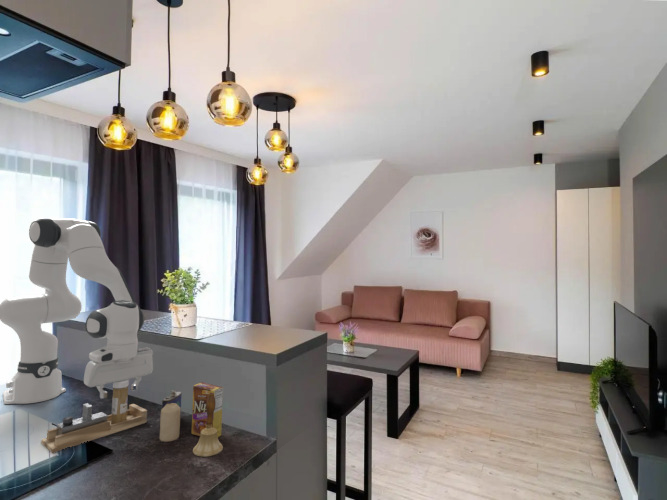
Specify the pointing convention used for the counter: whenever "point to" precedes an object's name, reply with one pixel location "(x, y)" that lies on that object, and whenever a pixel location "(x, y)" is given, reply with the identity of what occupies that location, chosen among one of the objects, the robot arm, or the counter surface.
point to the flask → (173, 399)
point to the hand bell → (208, 433)
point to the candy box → (199, 407)
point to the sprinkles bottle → (119, 401)
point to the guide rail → (94, 430)
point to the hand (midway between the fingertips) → (119, 393)
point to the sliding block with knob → (81, 421)
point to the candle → (170, 422)
